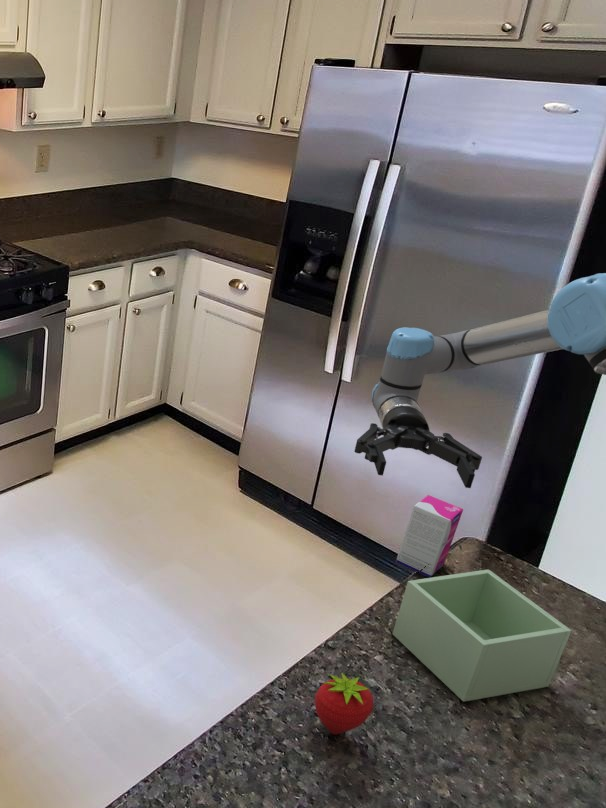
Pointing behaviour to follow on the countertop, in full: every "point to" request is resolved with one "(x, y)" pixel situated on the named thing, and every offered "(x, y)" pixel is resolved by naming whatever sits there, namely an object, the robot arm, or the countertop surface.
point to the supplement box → (429, 535)
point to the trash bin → (480, 634)
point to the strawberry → (343, 704)
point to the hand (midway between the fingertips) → (425, 474)
